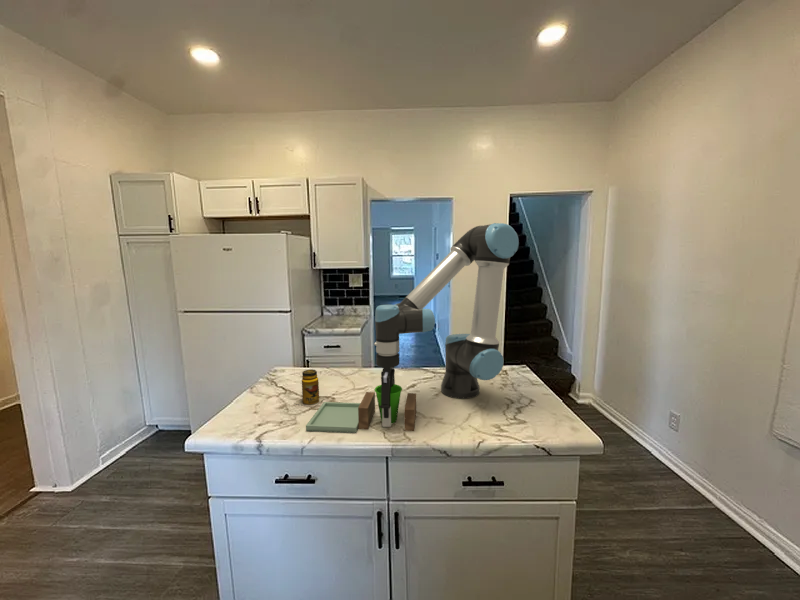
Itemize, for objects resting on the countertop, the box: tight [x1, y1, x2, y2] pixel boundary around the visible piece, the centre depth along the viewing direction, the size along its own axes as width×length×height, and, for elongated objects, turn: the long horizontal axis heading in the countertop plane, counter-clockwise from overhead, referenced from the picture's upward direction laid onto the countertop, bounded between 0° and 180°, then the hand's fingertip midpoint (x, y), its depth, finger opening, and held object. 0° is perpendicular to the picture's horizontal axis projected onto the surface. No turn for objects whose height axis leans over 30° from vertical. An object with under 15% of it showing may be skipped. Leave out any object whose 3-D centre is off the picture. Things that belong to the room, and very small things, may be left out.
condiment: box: [294, 368, 324, 408], centre depth 132 cm, size 7×8×12 cm
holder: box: [358, 391, 418, 432], centre depth 117 cm, size 18×13×7 cm
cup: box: [374, 383, 403, 425], centre depth 116 cm, size 9×9×11 cm
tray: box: [305, 401, 361, 434], centre depth 119 cm, size 16×18×2 cm
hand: (388, 419), depth 117 cm, fingers closed on cup, 9 cm apart
